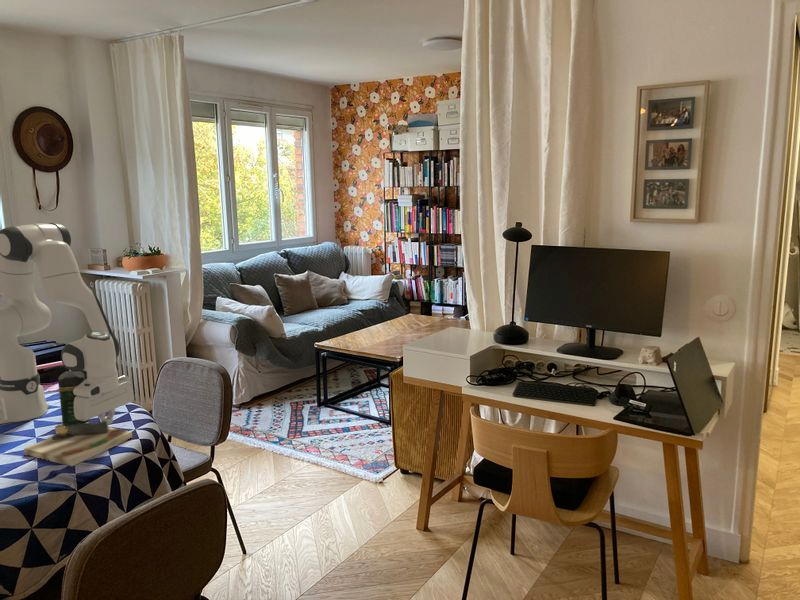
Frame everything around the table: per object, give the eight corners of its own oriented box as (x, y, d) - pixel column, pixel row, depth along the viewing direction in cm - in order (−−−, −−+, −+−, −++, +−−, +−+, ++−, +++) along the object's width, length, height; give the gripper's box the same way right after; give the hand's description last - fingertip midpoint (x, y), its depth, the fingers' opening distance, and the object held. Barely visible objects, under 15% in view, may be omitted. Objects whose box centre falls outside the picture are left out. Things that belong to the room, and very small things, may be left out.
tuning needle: (54, 438, 193) (53, 428, 192) (58, 433, 197) (57, 424, 196) (106, 433, 196) (105, 424, 195) (109, 429, 199) (108, 420, 199)
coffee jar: (89, 429, 206) (83, 374, 202) (62, 433, 203) (56, 378, 199) (90, 419, 215) (84, 367, 211) (64, 423, 211) (58, 370, 208)
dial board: (24, 454, 187) (23, 447, 187) (87, 428, 207) (86, 421, 206) (72, 466, 179) (71, 459, 179) (132, 437, 199) (131, 431, 198)
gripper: (122, 372, 208) (125, 411, 211) (68, 391, 190) (73, 434, 193) (136, 374, 206) (139, 414, 209) (83, 394, 188) (87, 437, 190)
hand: (107, 424), depth 200 cm, fingers closed
